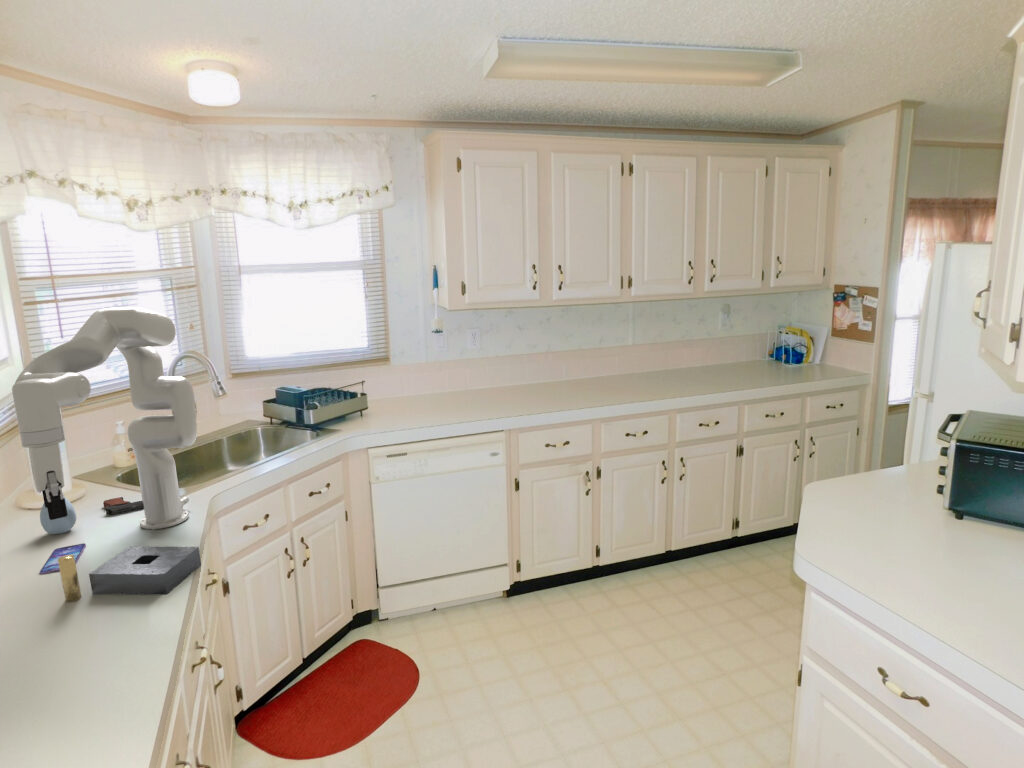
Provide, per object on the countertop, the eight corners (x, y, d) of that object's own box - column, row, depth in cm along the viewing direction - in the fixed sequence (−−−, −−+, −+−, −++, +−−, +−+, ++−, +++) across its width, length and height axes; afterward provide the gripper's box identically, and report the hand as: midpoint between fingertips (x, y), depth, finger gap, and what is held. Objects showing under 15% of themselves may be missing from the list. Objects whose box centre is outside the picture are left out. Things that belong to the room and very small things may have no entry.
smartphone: (38, 573, 157) (54, 548, 171) (38, 576, 157) (55, 551, 171) (73, 566, 160) (86, 542, 173) (73, 569, 160) (87, 545, 174)
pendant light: (74, 524, 188) (56, 425, 182) (81, 531, 182) (62, 430, 176) (41, 533, 182) (21, 431, 177) (46, 541, 177) (26, 436, 171)
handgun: (159, 489, 210) (164, 499, 201) (160, 497, 211) (165, 506, 201) (102, 499, 201) (105, 509, 192) (103, 507, 202) (106, 518, 192)
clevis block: (132, 564, 161) (129, 546, 160) (201, 565, 159) (198, 546, 158) (92, 593, 147) (88, 573, 146) (166, 594, 145) (163, 574, 144)
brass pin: (72, 595, 147) (64, 554, 145) (84, 595, 147) (77, 554, 145) (62, 601, 144) (54, 560, 142) (74, 602, 144) (67, 560, 142)
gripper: (18, 432, 142) (32, 506, 145) (23, 447, 129) (38, 528, 132) (59, 426, 147) (71, 497, 150) (68, 440, 133) (81, 517, 137)
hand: (56, 511), depth 141 cm, fingers open, 9 cm apart
